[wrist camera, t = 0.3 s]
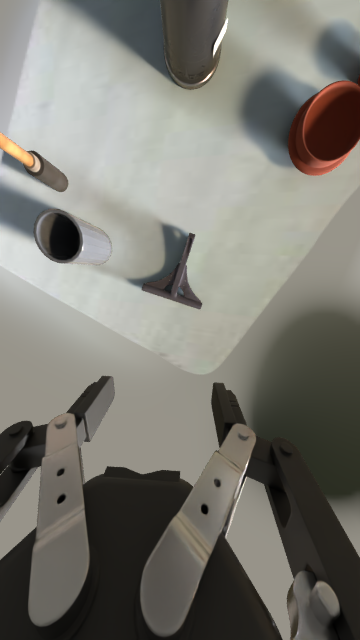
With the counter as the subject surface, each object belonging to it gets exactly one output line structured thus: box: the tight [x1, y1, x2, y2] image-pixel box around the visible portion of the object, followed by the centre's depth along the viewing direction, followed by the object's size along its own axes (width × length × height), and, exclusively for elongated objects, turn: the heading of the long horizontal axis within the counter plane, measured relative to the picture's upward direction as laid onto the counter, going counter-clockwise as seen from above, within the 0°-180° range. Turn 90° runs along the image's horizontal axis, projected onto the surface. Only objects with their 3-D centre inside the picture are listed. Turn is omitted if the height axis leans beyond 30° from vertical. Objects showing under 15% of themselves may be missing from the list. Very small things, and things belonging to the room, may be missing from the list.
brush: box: [0, 132, 68, 192], centre depth 26 cm, size 4×4×16 cm
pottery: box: [288, 75, 360, 175], centre depth 28 cm, size 12×20×4 cm, turn 142°
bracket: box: [142, 233, 202, 309], centre depth 37 cm, size 14×15×3 cm
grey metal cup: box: [34, 209, 112, 265], centre depth 32 cm, size 8×8×11 cm
